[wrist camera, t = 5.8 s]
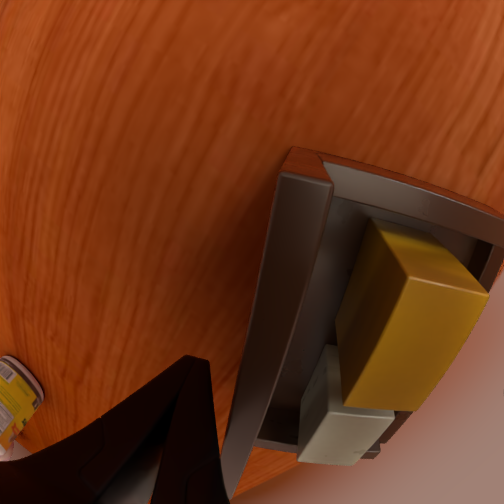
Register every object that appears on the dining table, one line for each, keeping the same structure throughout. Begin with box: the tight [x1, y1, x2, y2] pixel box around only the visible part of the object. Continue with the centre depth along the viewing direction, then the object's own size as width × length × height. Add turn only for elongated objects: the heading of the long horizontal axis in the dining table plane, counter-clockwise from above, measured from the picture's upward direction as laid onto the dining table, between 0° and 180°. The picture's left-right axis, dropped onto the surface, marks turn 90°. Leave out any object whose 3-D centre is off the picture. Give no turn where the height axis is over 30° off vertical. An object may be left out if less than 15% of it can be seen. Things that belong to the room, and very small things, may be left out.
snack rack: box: [220, 146, 504, 499], centre depth 9 cm, size 8×12×6 cm, turn 171°
